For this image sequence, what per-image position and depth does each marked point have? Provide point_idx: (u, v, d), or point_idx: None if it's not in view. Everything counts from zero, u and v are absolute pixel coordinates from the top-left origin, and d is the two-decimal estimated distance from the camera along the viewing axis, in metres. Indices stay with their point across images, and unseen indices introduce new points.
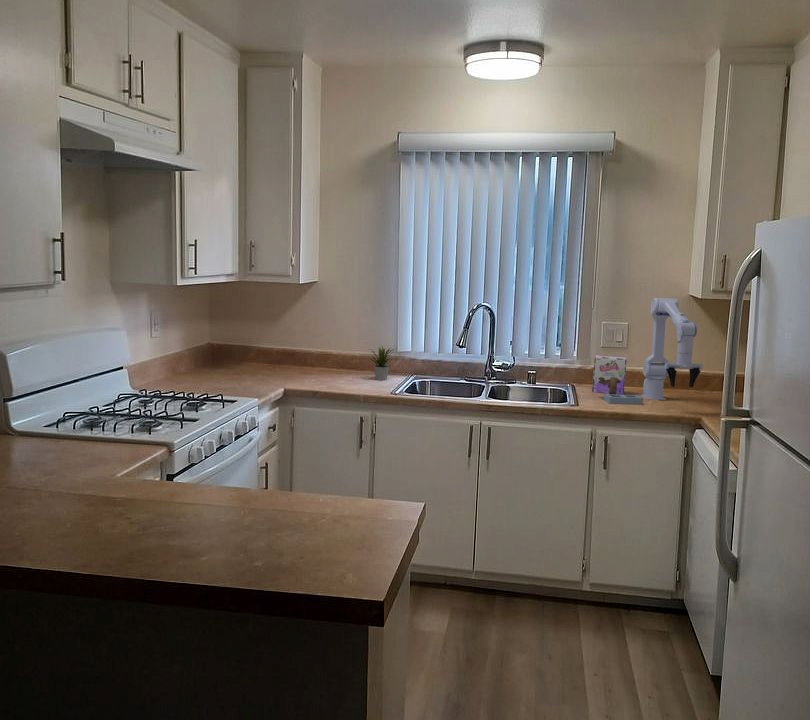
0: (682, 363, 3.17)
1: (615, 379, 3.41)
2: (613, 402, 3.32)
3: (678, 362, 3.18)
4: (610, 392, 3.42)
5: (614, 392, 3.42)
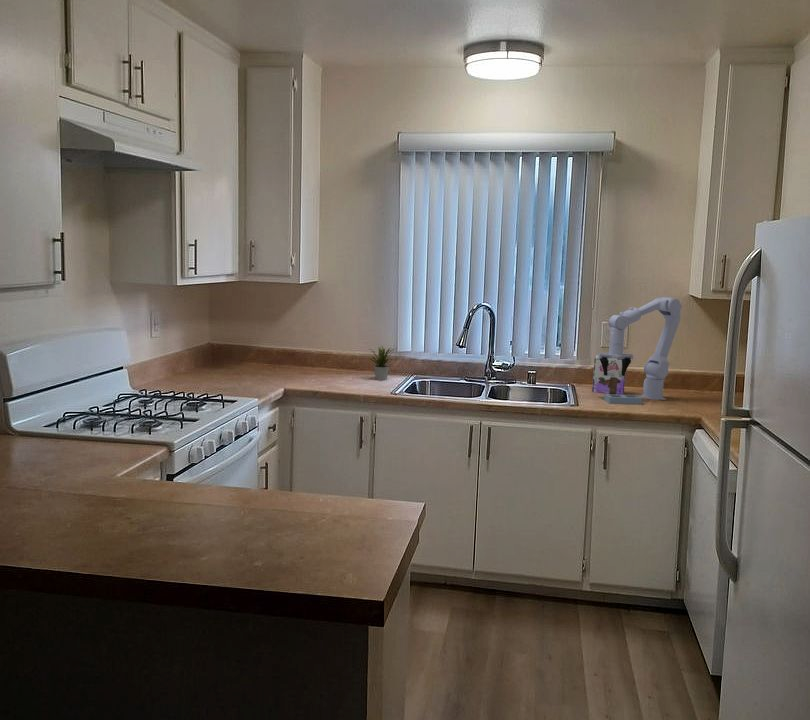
0: (614, 353, 3.38)
1: (615, 379, 3.41)
2: (613, 402, 3.32)
3: (610, 352, 3.40)
4: (610, 392, 3.42)
5: (614, 392, 3.42)
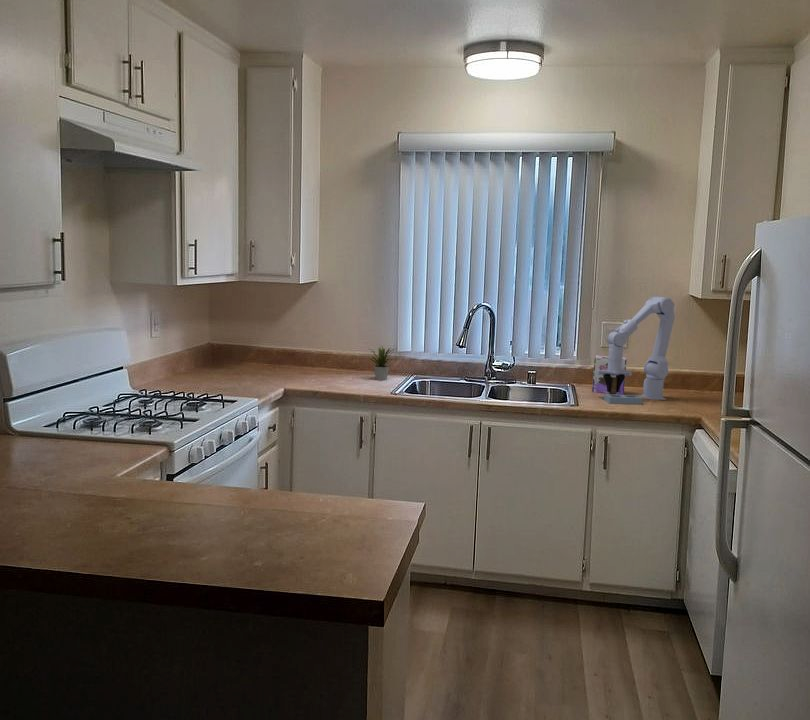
0: (612, 370, 3.39)
1: (615, 379, 3.41)
2: (613, 402, 3.32)
3: (609, 369, 3.41)
4: (610, 392, 3.42)
5: (614, 392, 3.42)
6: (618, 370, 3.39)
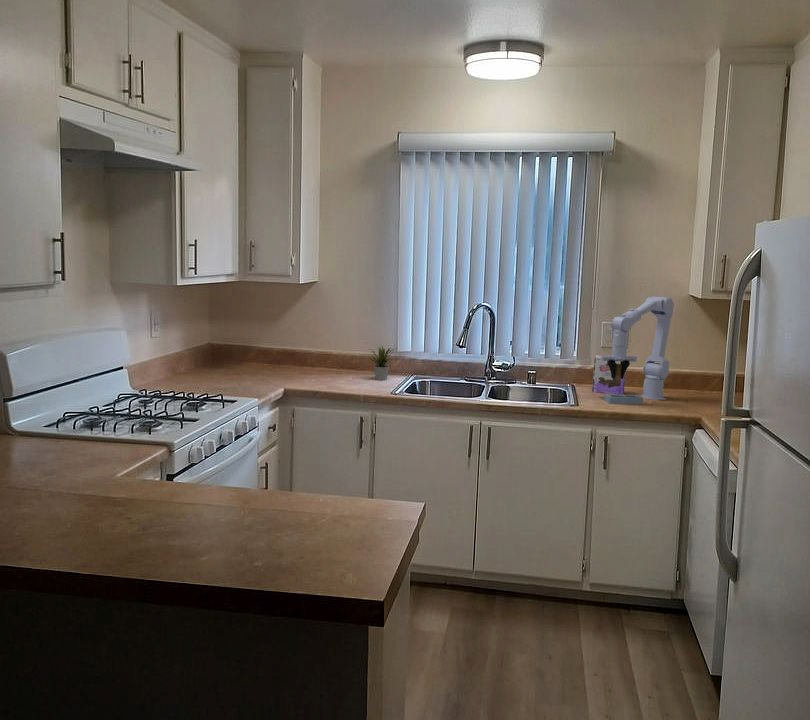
0: (617, 356, 3.31)
1: (619, 365, 3.32)
2: (613, 402, 3.32)
3: (613, 355, 3.32)
4: (614, 379, 3.34)
5: (618, 379, 3.33)
6: (623, 356, 3.30)
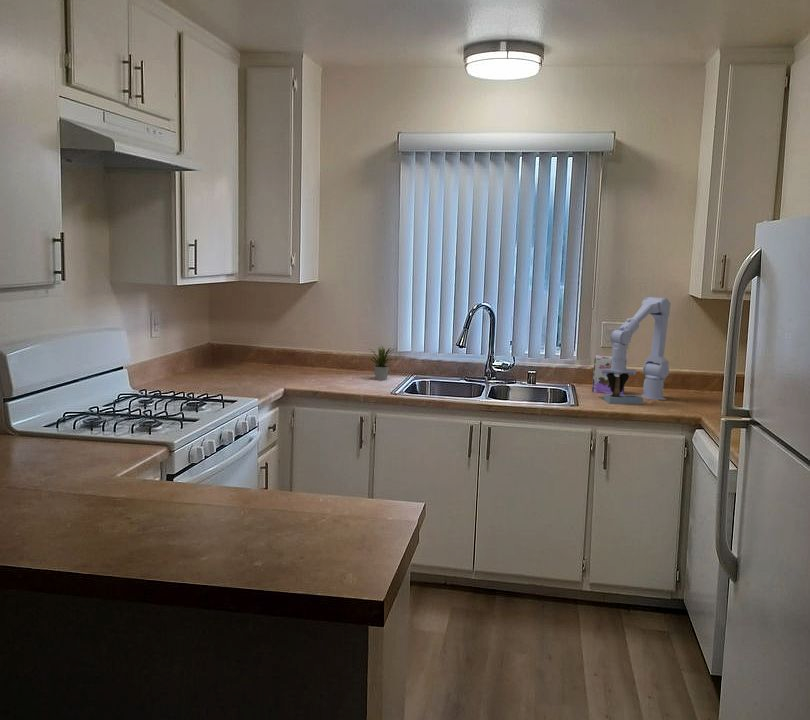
0: (616, 369, 3.31)
1: (618, 378, 3.33)
2: (613, 402, 3.32)
3: (612, 368, 3.32)
4: (613, 392, 3.34)
5: (617, 392, 3.34)
6: (622, 369, 3.31)
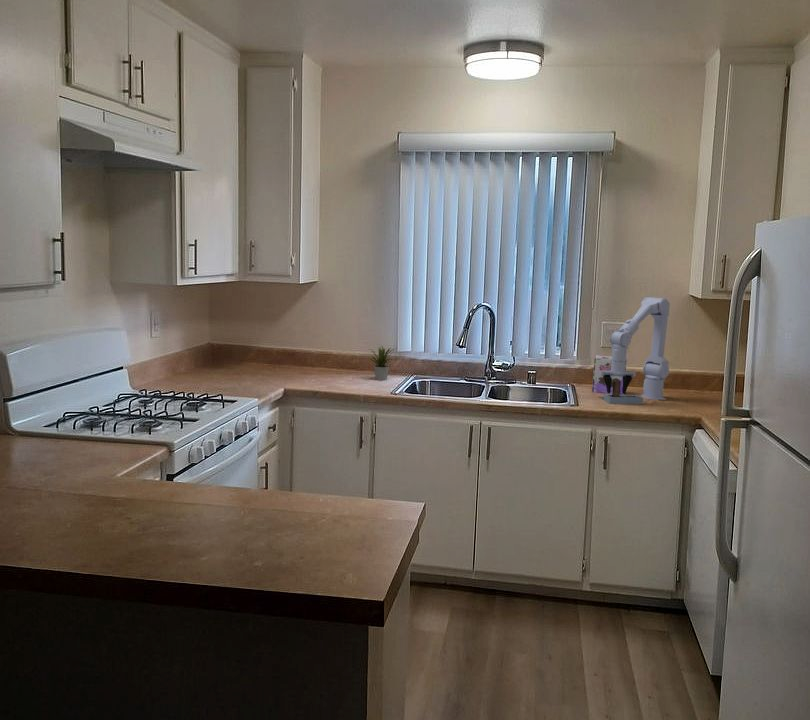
0: (616, 371, 3.31)
1: (618, 383, 3.33)
2: (613, 402, 3.32)
3: (612, 370, 3.33)
4: (613, 396, 3.35)
5: (617, 396, 3.34)
6: (622, 371, 3.31)
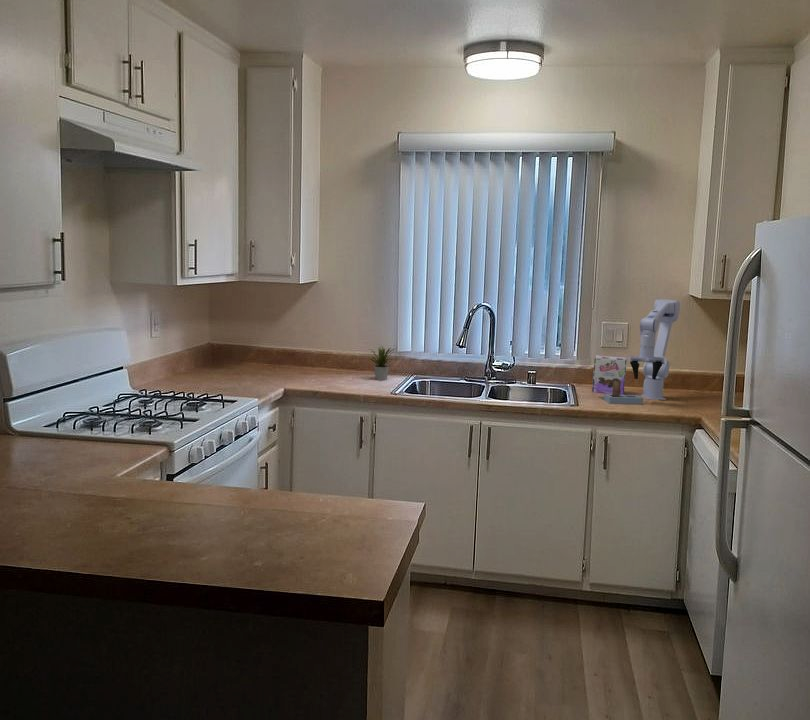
0: (645, 356, 3.32)
1: (618, 383, 3.33)
2: (613, 402, 3.32)
3: (641, 355, 3.33)
4: (613, 396, 3.35)
5: (617, 396, 3.34)
6: (650, 356, 3.32)
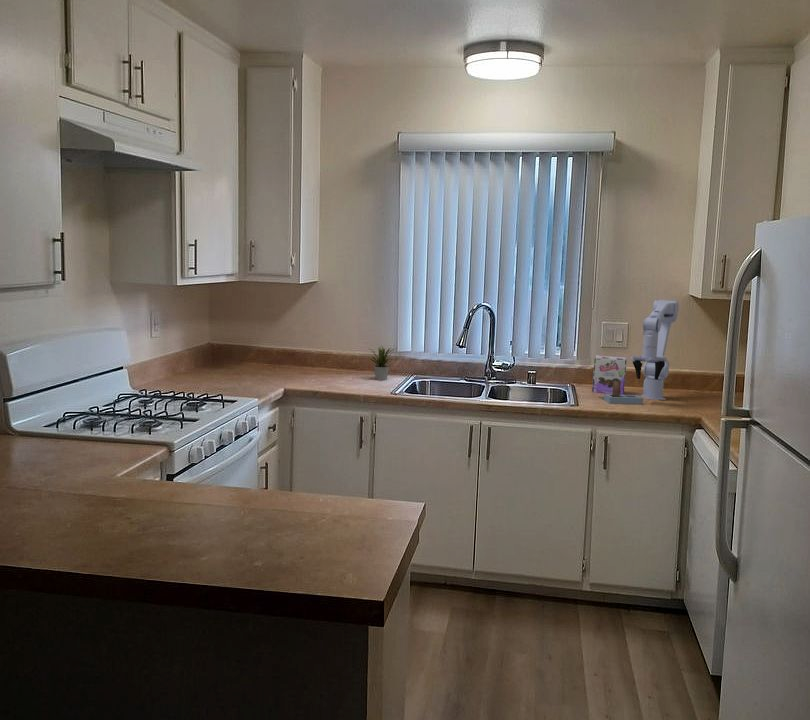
0: (647, 356, 3.32)
1: (618, 383, 3.33)
2: (613, 402, 3.32)
3: (644, 355, 3.33)
4: (613, 396, 3.35)
5: (617, 396, 3.34)
6: (653, 356, 3.32)
